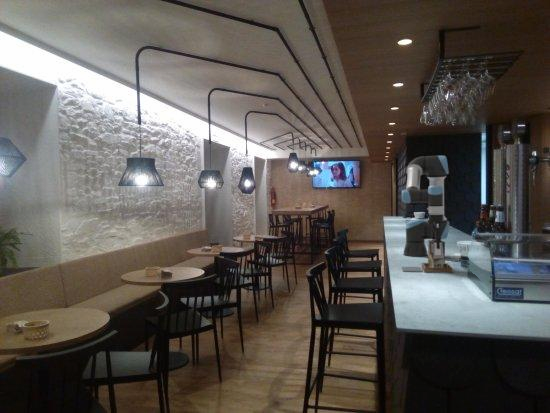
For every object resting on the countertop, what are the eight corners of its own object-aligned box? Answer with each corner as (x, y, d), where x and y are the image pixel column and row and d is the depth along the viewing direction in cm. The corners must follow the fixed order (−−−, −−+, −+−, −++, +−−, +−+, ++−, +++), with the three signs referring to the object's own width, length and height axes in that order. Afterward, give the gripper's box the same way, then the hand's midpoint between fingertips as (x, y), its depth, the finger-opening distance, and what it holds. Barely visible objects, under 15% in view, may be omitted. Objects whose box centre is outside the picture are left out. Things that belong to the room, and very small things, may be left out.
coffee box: (445, 271, 229) (445, 241, 228) (433, 272, 229) (433, 242, 228) (439, 268, 238) (439, 239, 237) (427, 268, 238) (427, 239, 238)
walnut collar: (421, 267, 242) (421, 263, 242) (448, 267, 239) (448, 263, 239) (424, 272, 229) (424, 267, 229) (452, 273, 225) (452, 268, 225)
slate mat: (401, 267, 244) (401, 266, 244) (420, 267, 242) (420, 266, 241) (402, 271, 232) (402, 270, 232) (422, 272, 230) (422, 271, 230)
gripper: (426, 212, 245) (426, 249, 246) (431, 215, 221) (431, 256, 222) (439, 212, 243) (440, 249, 244) (446, 215, 219) (447, 256, 220)
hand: (436, 253), depth 233 cm, fingers open, 13 cm apart
